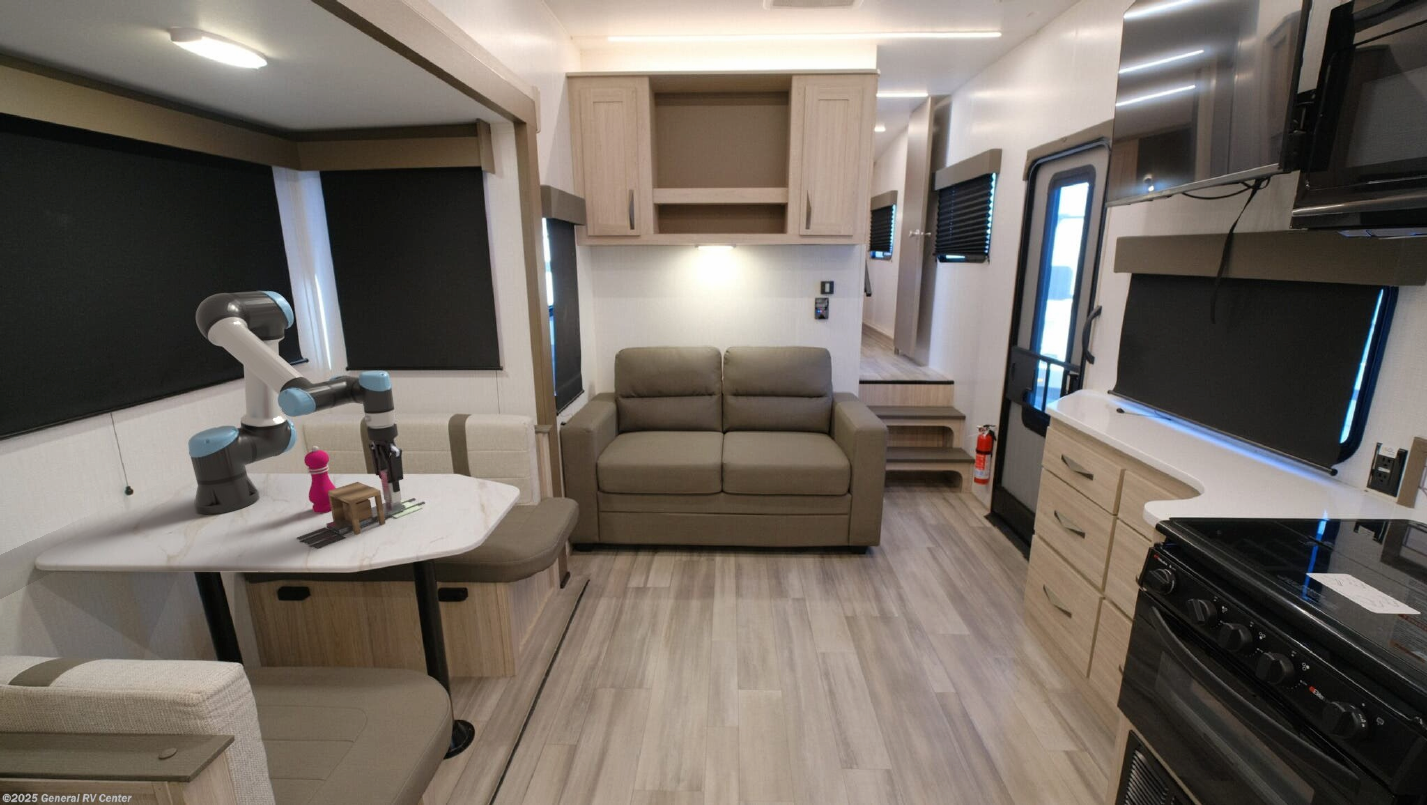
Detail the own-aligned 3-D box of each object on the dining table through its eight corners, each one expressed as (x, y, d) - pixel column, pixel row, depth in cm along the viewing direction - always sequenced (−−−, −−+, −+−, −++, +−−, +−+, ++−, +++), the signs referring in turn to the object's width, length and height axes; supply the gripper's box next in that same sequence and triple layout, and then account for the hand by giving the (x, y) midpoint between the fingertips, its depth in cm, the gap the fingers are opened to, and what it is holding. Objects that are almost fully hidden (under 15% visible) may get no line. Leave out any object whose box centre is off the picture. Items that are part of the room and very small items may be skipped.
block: (345, 518, 161) (342, 502, 160) (363, 512, 165) (360, 496, 164) (354, 522, 158) (351, 506, 157) (372, 516, 163) (370, 499, 161)
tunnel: (333, 524, 162) (327, 491, 159) (362, 513, 169) (357, 481, 166) (356, 534, 156) (350, 500, 153) (385, 523, 162) (380, 490, 160)
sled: (326, 527, 158) (319, 487, 155) (392, 503, 173) (386, 466, 170) (339, 534, 155) (332, 492, 151) (405, 509, 170) (400, 470, 167)
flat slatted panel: (297, 538, 154) (296, 537, 154) (325, 528, 160) (324, 527, 160) (317, 549, 148) (317, 548, 148) (345, 538, 154) (345, 537, 154)
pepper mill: (325, 515, 168) (314, 450, 163) (305, 512, 169) (292, 449, 164) (345, 504, 174) (335, 443, 169) (325, 502, 176) (314, 441, 171)
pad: (375, 509, 171) (375, 508, 171) (401, 500, 178) (401, 499, 178) (396, 518, 166) (396, 517, 166) (422, 508, 172) (422, 507, 172)
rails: (299, 541, 152) (299, 539, 152) (414, 499, 179) (413, 497, 178) (310, 547, 149) (310, 545, 149) (425, 503, 176) (424, 502, 175)
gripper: (353, 423, 165) (365, 498, 171) (384, 432, 157) (395, 510, 162) (379, 417, 171) (390, 490, 177) (410, 425, 163) (420, 501, 169)
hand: (392, 499), depth 170 cm, fingers closed on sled, 3 cm apart
